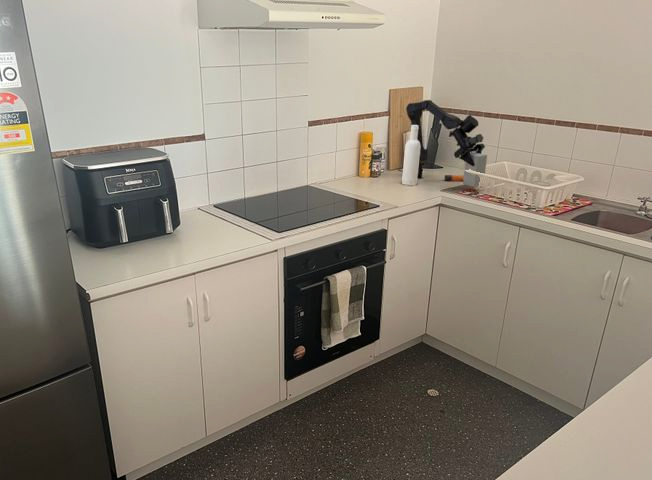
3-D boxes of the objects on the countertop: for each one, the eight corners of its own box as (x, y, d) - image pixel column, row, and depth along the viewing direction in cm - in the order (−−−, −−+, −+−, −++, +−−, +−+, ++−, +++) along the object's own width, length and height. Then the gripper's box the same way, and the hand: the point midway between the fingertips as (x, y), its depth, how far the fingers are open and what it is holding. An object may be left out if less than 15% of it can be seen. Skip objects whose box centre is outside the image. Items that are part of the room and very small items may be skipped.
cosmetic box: (483, 186, 276) (489, 155, 270) (473, 187, 273) (478, 155, 267) (471, 182, 283) (476, 151, 277) (460, 183, 280) (466, 152, 274)
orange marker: (445, 181, 296) (446, 176, 295) (444, 179, 299) (444, 174, 297) (472, 181, 296) (473, 176, 295) (470, 179, 299) (471, 174, 297)
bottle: (418, 185, 287) (424, 126, 275) (403, 185, 287) (408, 126, 275) (415, 181, 295) (421, 124, 283) (400, 181, 295) (405, 124, 283)
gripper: (462, 130, 264) (479, 157, 261) (484, 127, 275) (500, 152, 272) (446, 144, 273) (462, 170, 270) (468, 140, 284) (484, 165, 281)
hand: (478, 164), depth 273 cm, fingers closed on cosmetic box, 7 cm apart
